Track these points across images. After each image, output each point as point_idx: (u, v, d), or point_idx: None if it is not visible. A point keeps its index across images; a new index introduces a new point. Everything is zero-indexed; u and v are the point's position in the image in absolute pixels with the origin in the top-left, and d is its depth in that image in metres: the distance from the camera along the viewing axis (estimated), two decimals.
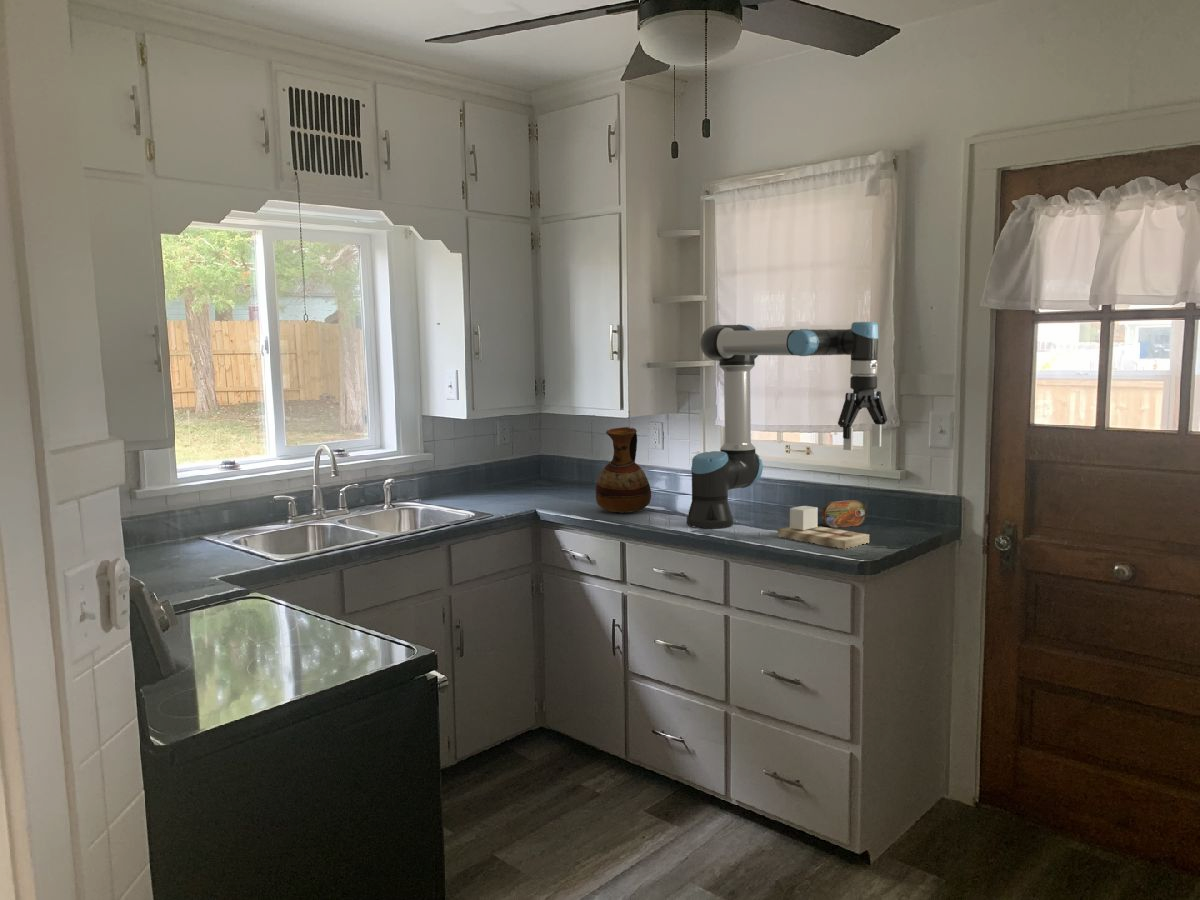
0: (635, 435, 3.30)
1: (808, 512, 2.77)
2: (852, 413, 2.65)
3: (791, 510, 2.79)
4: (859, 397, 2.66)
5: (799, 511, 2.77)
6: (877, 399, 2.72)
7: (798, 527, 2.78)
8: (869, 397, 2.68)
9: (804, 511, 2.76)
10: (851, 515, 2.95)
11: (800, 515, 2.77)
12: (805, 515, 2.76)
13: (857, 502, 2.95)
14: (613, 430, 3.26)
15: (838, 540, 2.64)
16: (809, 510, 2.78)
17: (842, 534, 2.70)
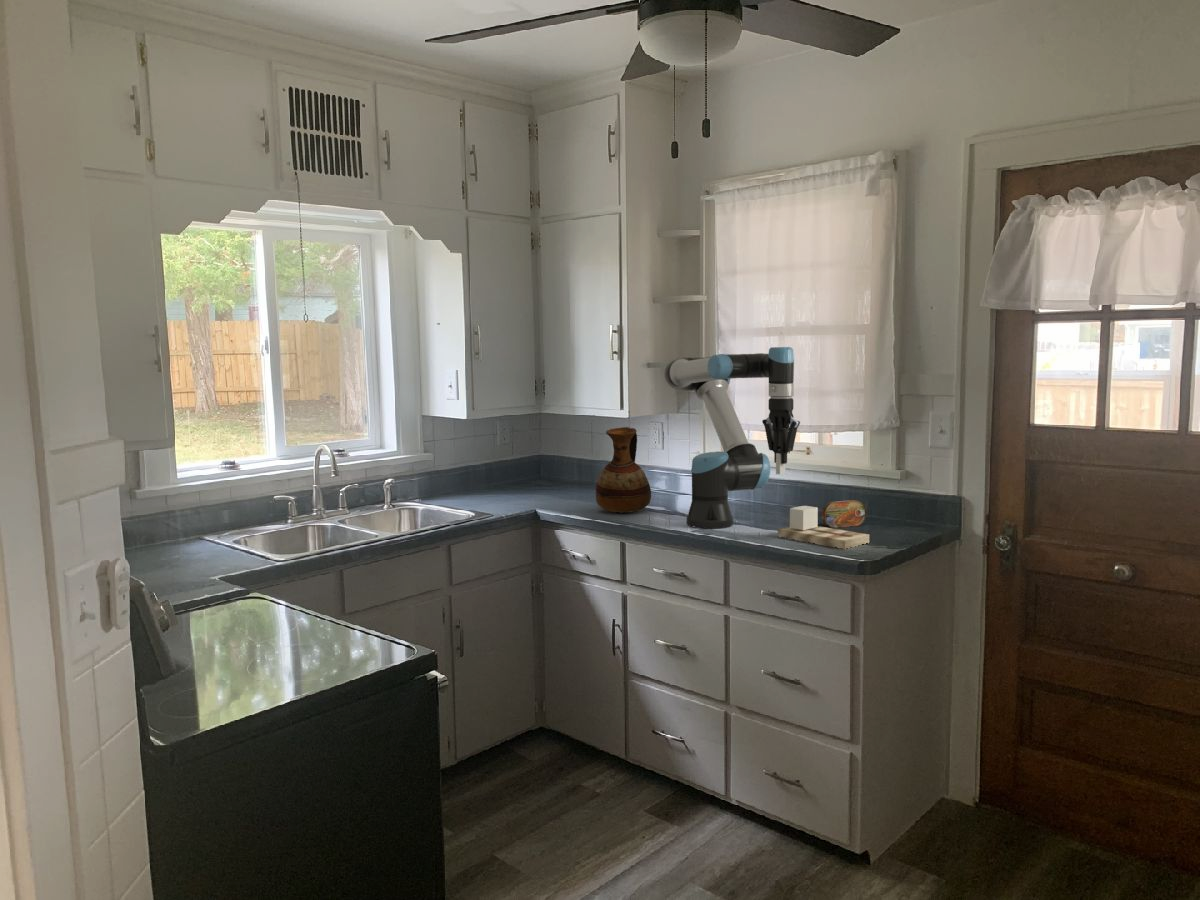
0: (635, 435, 3.30)
1: (808, 512, 2.77)
2: None
3: (791, 510, 2.79)
4: (771, 417, 2.85)
5: (799, 511, 2.77)
6: None
7: (798, 527, 2.78)
8: None
9: (804, 511, 2.76)
10: (851, 515, 2.95)
11: (800, 515, 2.77)
12: (805, 515, 2.76)
13: (857, 502, 2.96)
14: (613, 430, 3.26)
15: (838, 540, 2.64)
16: (809, 510, 2.78)
17: (842, 534, 2.70)
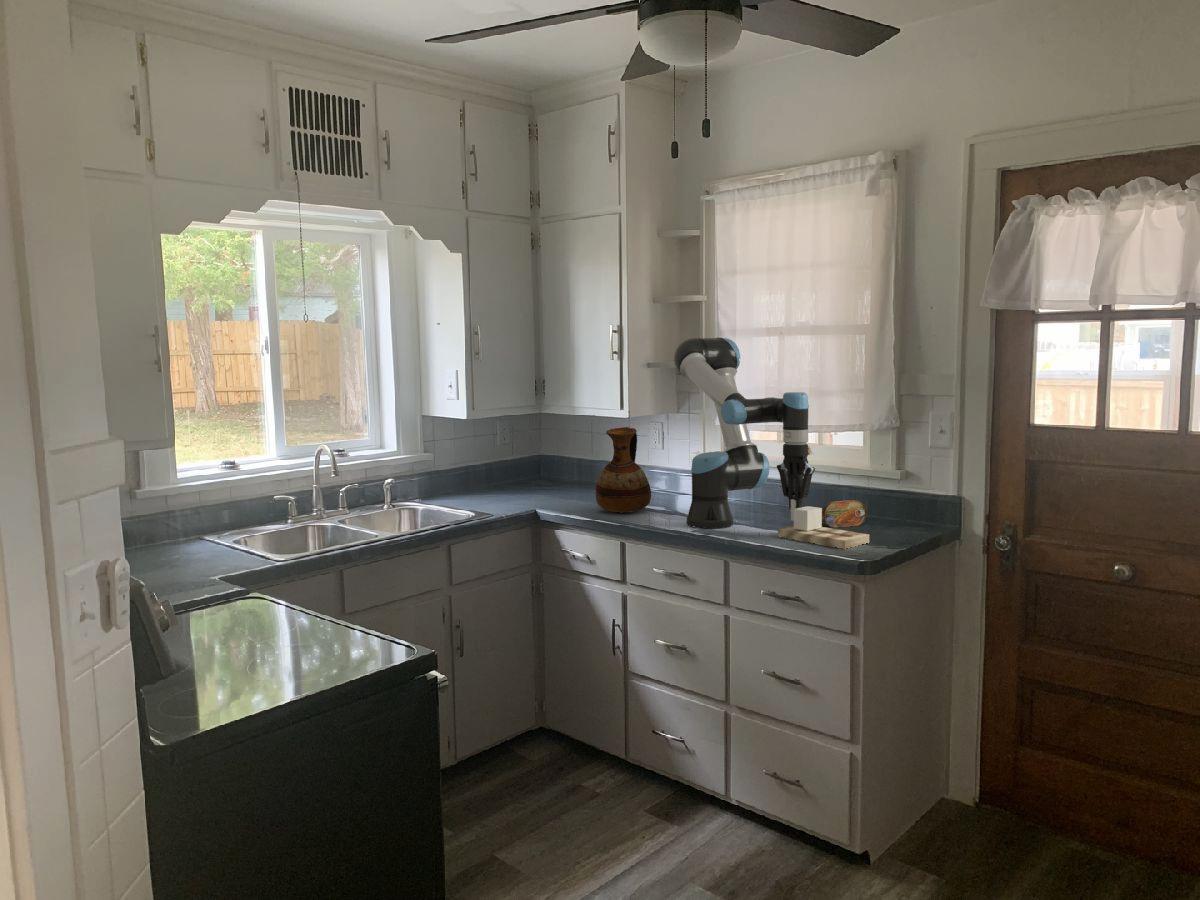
0: (635, 435, 3.30)
1: (812, 513, 2.76)
2: None
3: (795, 511, 2.78)
4: (785, 463, 2.82)
5: (803, 512, 2.76)
6: None
7: (802, 528, 2.76)
8: None
9: (808, 512, 2.75)
10: (851, 515, 2.95)
11: (804, 516, 2.75)
12: (809, 516, 2.75)
13: (857, 502, 2.95)
14: (613, 430, 3.26)
15: (838, 540, 2.64)
16: (813, 511, 2.76)
17: (842, 534, 2.70)
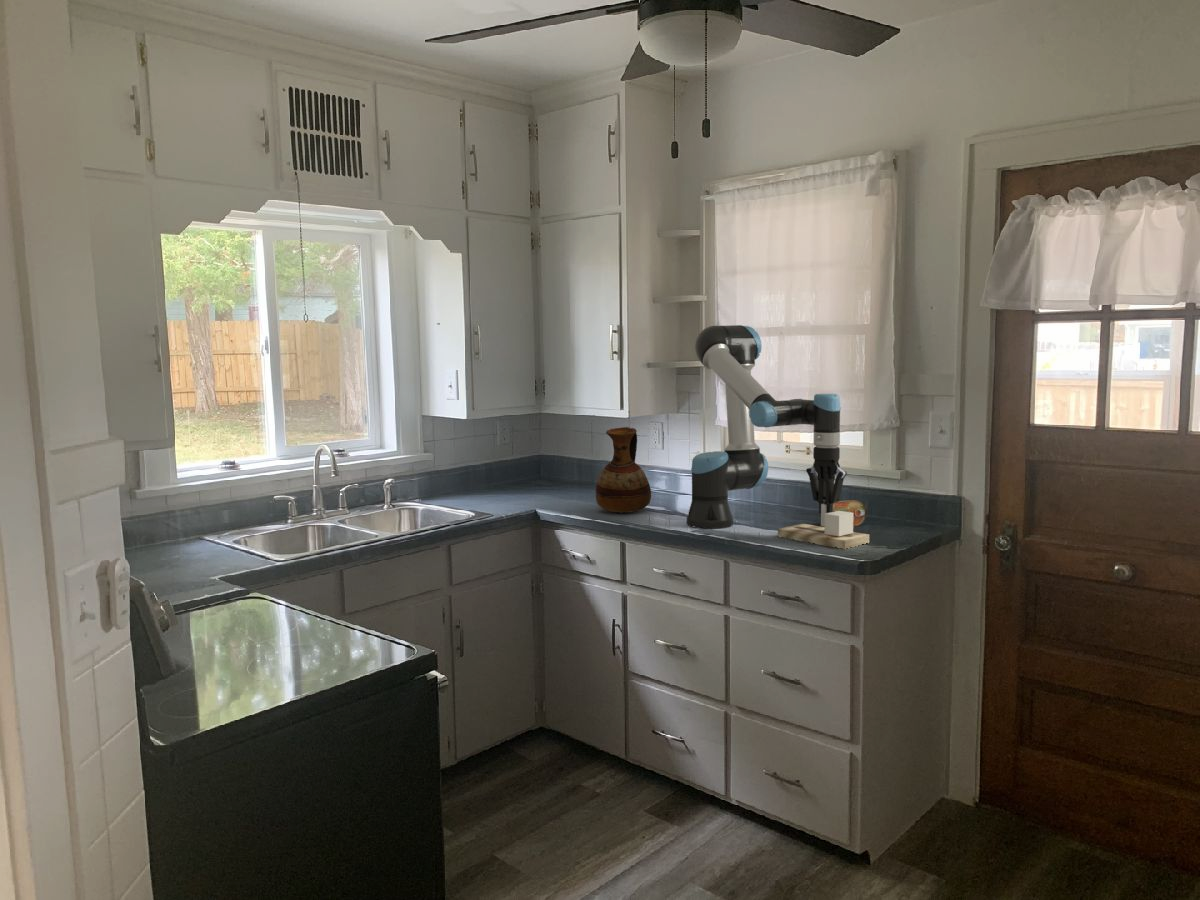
0: (635, 435, 3.30)
1: (844, 518, 2.68)
2: None
3: (826, 515, 2.69)
4: (815, 467, 2.74)
5: (835, 517, 2.67)
6: None
7: (833, 533, 2.68)
8: None
9: (840, 516, 2.66)
10: None
11: (836, 521, 2.67)
12: (841, 521, 2.67)
13: (857, 502, 2.95)
14: (613, 430, 3.26)
15: (838, 540, 2.64)
16: (845, 515, 2.68)
17: None
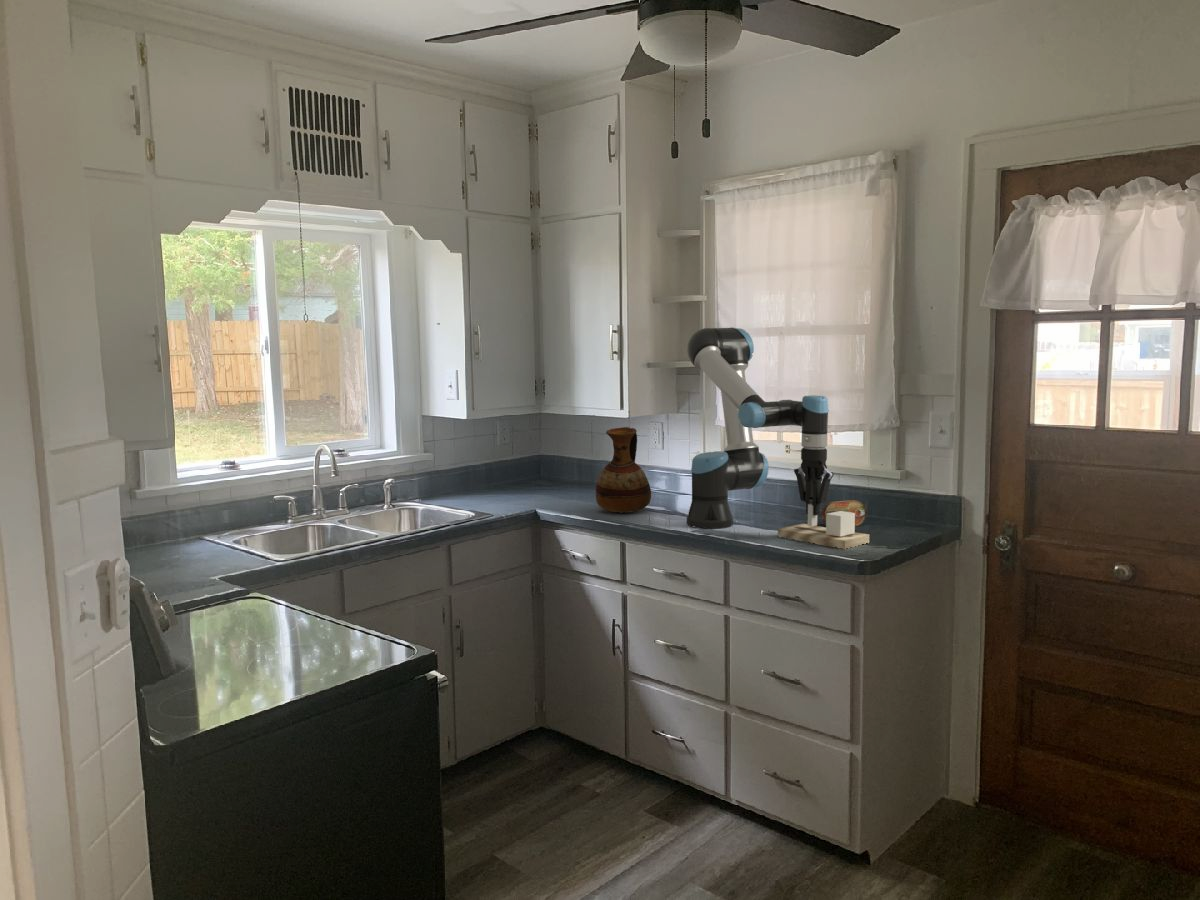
0: (635, 435, 3.30)
1: (845, 518, 2.67)
2: None
3: (827, 516, 2.69)
4: (803, 467, 2.77)
5: (836, 517, 2.67)
6: None
7: (835, 533, 2.68)
8: None
9: (841, 517, 2.66)
10: None
11: (837, 521, 2.67)
12: (842, 521, 2.66)
13: (857, 502, 2.95)
14: (613, 430, 3.26)
15: (838, 540, 2.64)
16: (846, 516, 2.68)
17: None
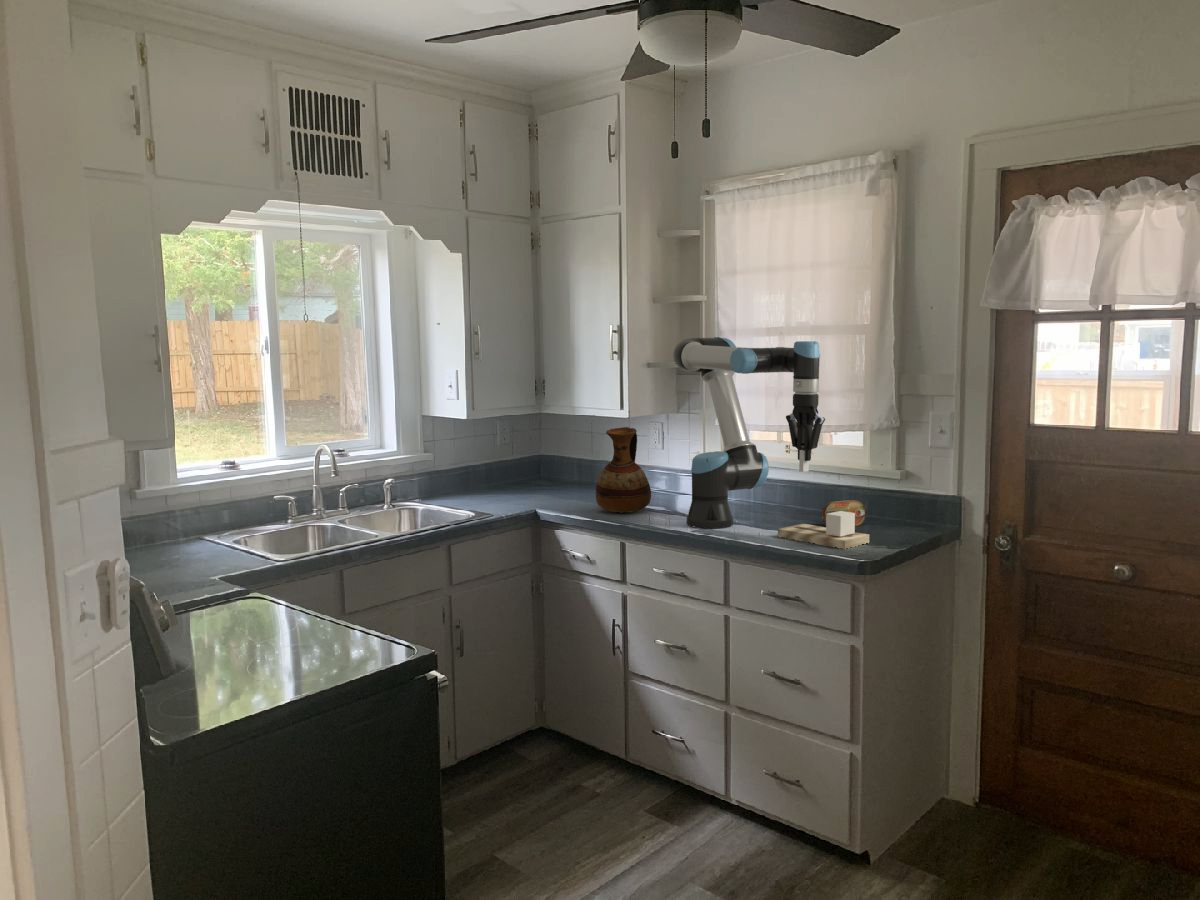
0: (635, 435, 3.30)
1: (845, 518, 2.67)
2: None
3: (827, 516, 2.69)
4: (794, 413, 2.78)
5: (836, 517, 2.67)
6: None
7: (835, 533, 2.68)
8: None
9: (841, 517, 2.66)
10: None
11: (837, 521, 2.67)
12: (842, 521, 2.66)
13: (857, 502, 2.95)
14: (613, 430, 3.26)
15: (838, 540, 2.64)
16: (846, 516, 2.68)
17: None
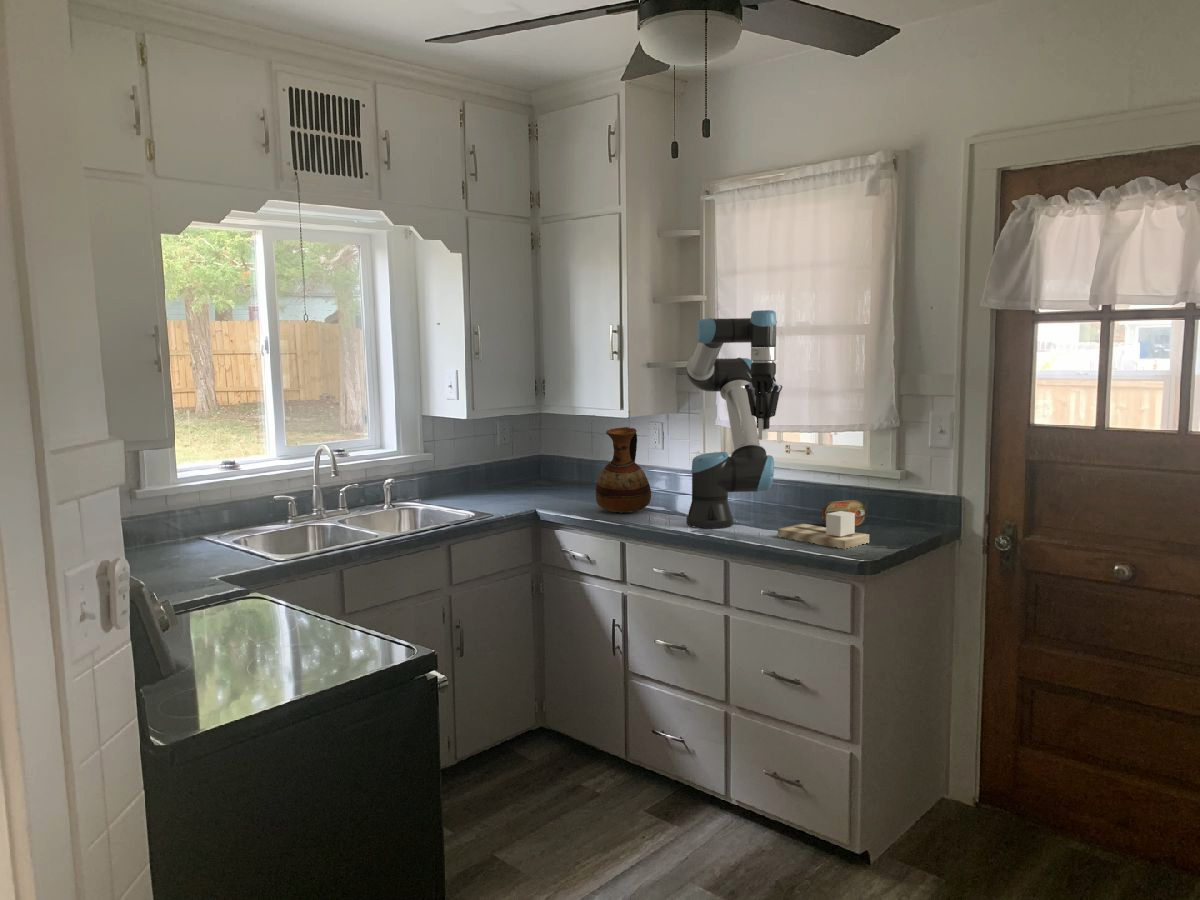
0: (635, 435, 3.30)
1: (845, 518, 2.67)
2: None
3: (827, 516, 2.69)
4: (753, 382, 2.82)
5: (836, 517, 2.67)
6: None
7: (835, 533, 2.68)
8: None
9: (841, 517, 2.66)
10: None
11: (837, 521, 2.67)
12: (842, 521, 2.66)
13: (857, 502, 2.95)
14: (613, 430, 3.26)
15: (838, 540, 2.64)
16: (846, 516, 2.68)
17: None
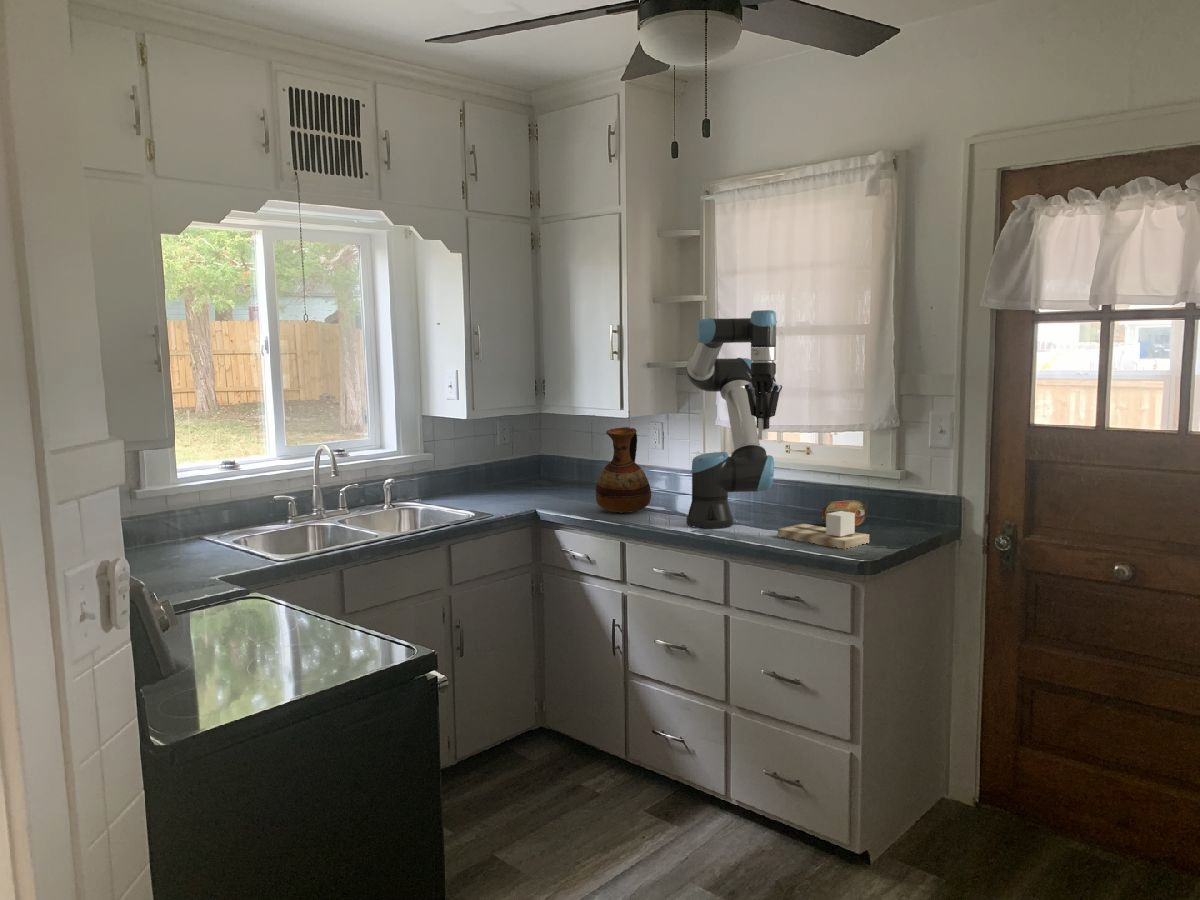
0: (635, 435, 3.30)
1: (845, 518, 2.67)
2: None
3: (827, 516, 2.69)
4: (753, 382, 2.82)
5: (836, 517, 2.67)
6: None
7: (835, 533, 2.68)
8: None
9: (841, 517, 2.66)
10: None
11: (837, 521, 2.67)
12: (842, 521, 2.66)
13: (857, 502, 2.96)
14: (613, 430, 3.26)
15: (838, 540, 2.64)
16: (846, 516, 2.68)
17: None
